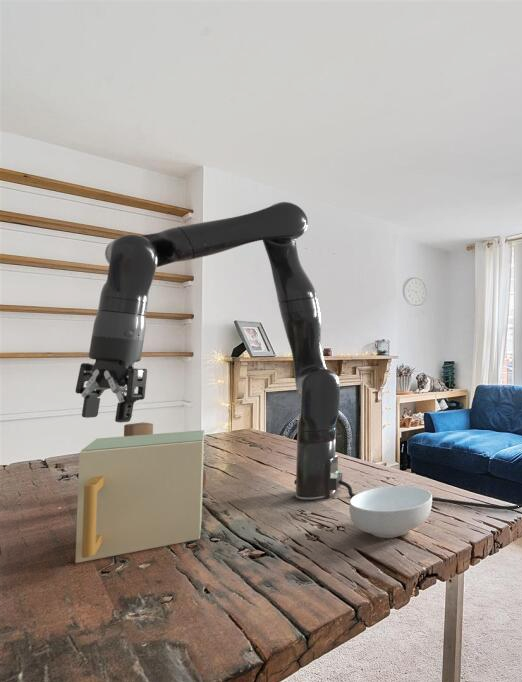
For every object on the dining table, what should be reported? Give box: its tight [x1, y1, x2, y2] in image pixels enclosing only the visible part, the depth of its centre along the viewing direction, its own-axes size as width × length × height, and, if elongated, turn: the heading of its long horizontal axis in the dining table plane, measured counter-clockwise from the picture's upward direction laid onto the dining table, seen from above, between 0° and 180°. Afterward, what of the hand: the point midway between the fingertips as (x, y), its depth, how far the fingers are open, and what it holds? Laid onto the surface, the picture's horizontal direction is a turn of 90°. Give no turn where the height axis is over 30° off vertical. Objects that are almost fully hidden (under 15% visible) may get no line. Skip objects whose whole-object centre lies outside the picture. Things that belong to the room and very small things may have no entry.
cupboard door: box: [75, 441, 203, 564], centre depth 78 cm, size 7×18×19 cm, turn 125°
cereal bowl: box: [348, 485, 433, 539], centre depth 91 cm, size 17×17×7 cm
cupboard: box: [80, 429, 205, 533], centre depth 86 cm, size 12×18×20 cm
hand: (105, 419), depth 82 cm, fingers open, 8 cm apart
